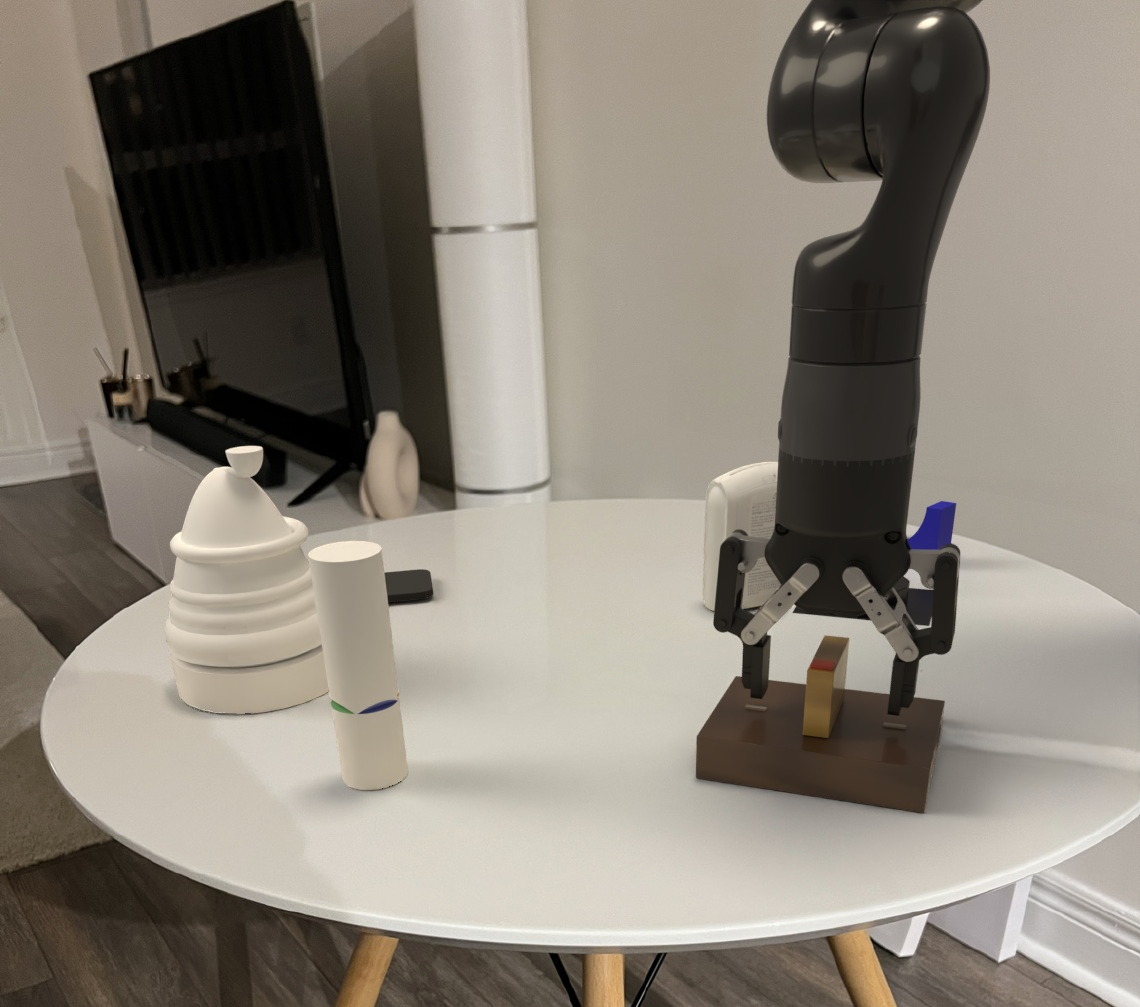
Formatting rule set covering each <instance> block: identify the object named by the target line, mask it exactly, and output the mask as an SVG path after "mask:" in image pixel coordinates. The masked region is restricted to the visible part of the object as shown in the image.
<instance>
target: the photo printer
mask: <svg viewBox="0 0 1140 1007" xmlns="http://www.w3.org/2000/svg"><path fill="white" fill-rule="evenodd" d="M777 475H778V461H761V462H755V463H750V464H746V465H743V466H740V467H739V466H738V467H737V468H734V469H731V470H730V471H727V472H725V473H723V474H721V475H719V476H717V477H716V478H714V479H712V481H710V483H709V484H708V486H707V489H706V493H705V504H704V506H705V507H704V508H705V509H704V530H703V531H704V533H703V562H702V563H703V564H702V566H703V567H702V600H703V601H704V602H703V604H704V607H705V608H706V609H708V610H710V611H711V612H714V609H715V598H716V587H717V576H718V565H719V554H720V546H721V544H722V543H723V542H724V541H725V539H726V538H727V537H728V536H729V535H730V534H731V533H732V532H733V531H735V530H739V529H740V530H743V531H745V532H746V533H747V534H748V536H751V537H758V538H766V539H770V538H771V537H772V534H773V532H774V527H775V511H776V493H777ZM780 585H781V584H780V582H779V581H778V579H777V578H776V576H775V575H774V573H773V572H772V570H771V568H770V567H769V565H768V564H767V562H766V560H765V558H764V557H763V558H759V559H757V563H756V565H755V566H754V567H753V569H752V570H751V571H749V572H747V573H745V581H744V591H743V600H742V609H743V610H745V609H746V610H747V609H751V608H757V607H761V606H762V605H763V604H764V603H765V602H766V601H767V600H768V599H769V597H770V596H771V595H772V594H773V593H774V591H775V590H776V589H777V588H778V587H779V586H780Z"/></svg>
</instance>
